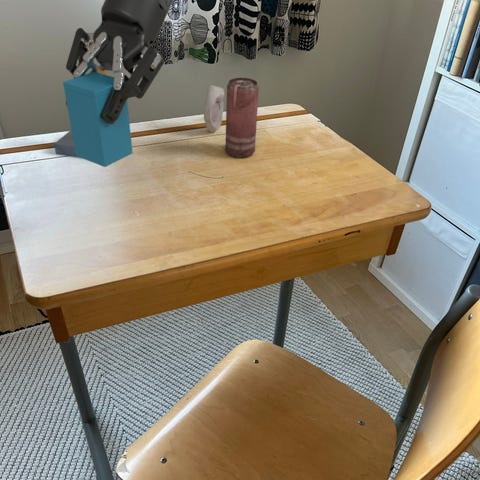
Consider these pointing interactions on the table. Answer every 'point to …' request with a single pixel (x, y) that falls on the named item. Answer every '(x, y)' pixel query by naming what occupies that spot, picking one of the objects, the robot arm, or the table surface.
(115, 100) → the robot arm
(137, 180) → the table surface
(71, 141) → the peg stand
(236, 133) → the can
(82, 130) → the tall teal pillar
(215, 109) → the fossil
